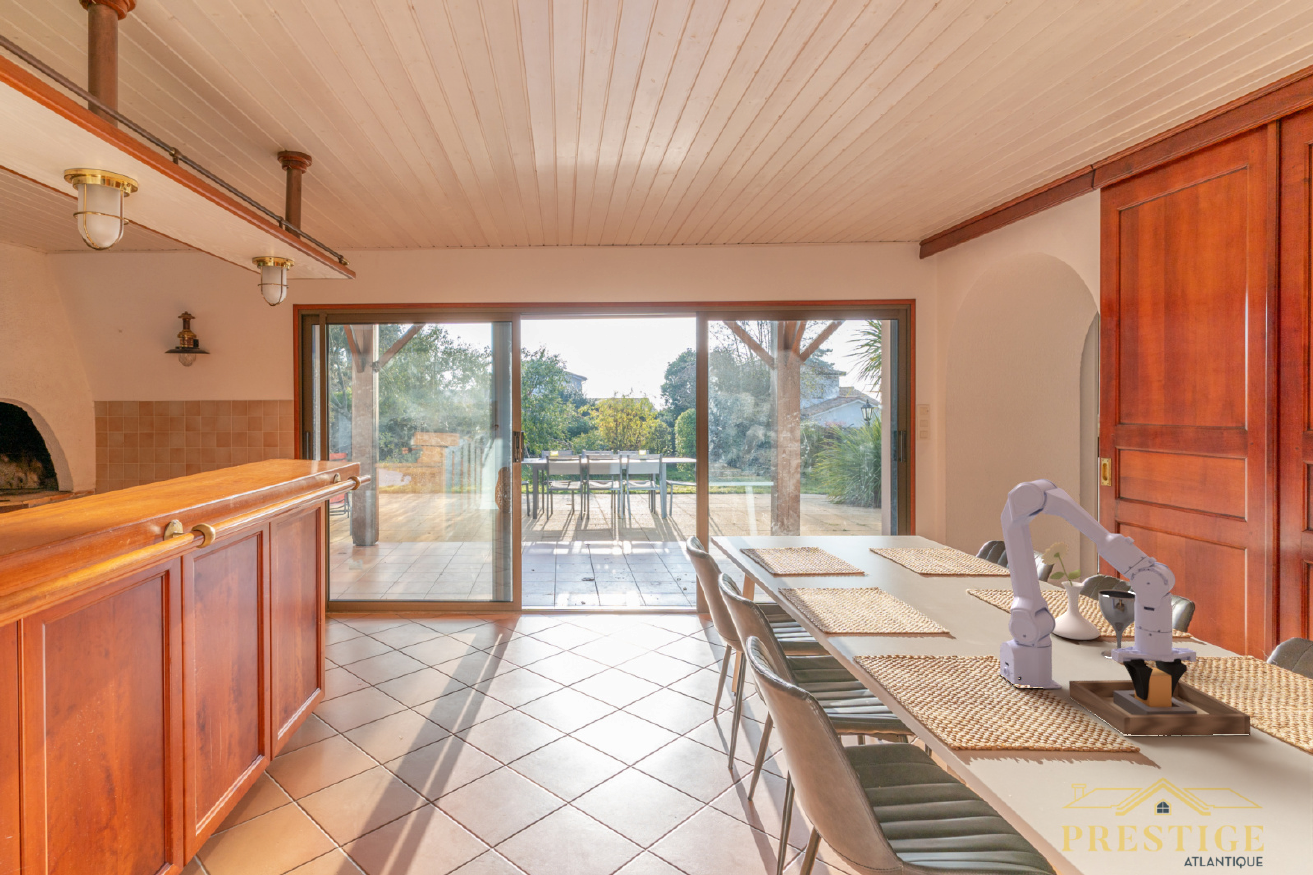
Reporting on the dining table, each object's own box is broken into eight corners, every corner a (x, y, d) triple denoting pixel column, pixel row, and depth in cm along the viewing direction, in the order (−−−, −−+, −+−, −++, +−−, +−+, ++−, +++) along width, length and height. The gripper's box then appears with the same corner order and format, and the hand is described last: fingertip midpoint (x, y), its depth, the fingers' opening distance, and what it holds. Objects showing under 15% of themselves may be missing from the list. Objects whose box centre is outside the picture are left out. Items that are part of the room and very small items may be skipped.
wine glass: (1122, 664, 146) (1122, 600, 146) (1090, 652, 154) (1090, 591, 153) (1148, 659, 148) (1148, 596, 148) (1115, 648, 156) (1115, 588, 155)
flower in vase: (1083, 629, 170) (1083, 536, 169) (1110, 644, 159) (1109, 545, 158) (1032, 628, 171) (1032, 537, 171) (1055, 643, 160) (1054, 545, 159)
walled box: (1124, 736, 114) (1124, 717, 114) (1069, 697, 130) (1069, 680, 130) (1250, 735, 113) (1250, 716, 113) (1179, 696, 129) (1179, 679, 129)
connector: (1149, 712, 120) (1149, 676, 119) (1134, 703, 124) (1134, 667, 123) (1171, 712, 120) (1171, 675, 119) (1155, 702, 124) (1155, 667, 123)
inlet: (1147, 724, 117) (1146, 711, 117) (1113, 703, 126) (1113, 690, 126) (1196, 724, 117) (1196, 710, 117) (1159, 702, 126) (1159, 690, 126)
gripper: (1129, 635, 117) (1129, 707, 118) (1209, 634, 117) (1209, 706, 117) (1103, 623, 124) (1104, 691, 125) (1179, 622, 124) (1179, 690, 124)
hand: (1153, 697), depth 121 cm, fingers closed on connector, 4 cm apart
